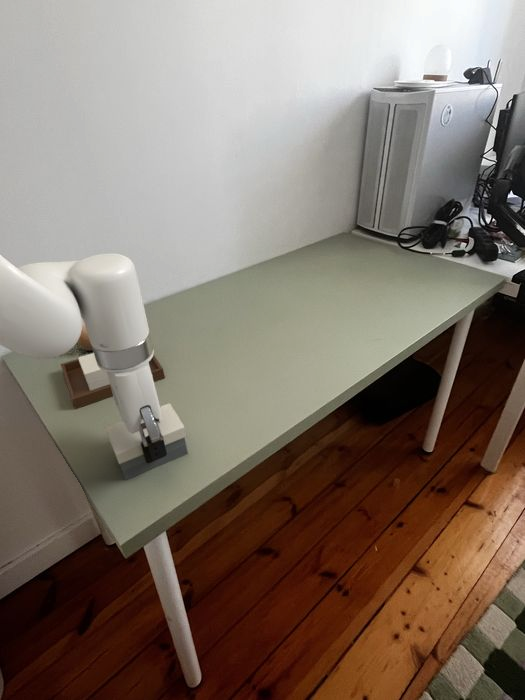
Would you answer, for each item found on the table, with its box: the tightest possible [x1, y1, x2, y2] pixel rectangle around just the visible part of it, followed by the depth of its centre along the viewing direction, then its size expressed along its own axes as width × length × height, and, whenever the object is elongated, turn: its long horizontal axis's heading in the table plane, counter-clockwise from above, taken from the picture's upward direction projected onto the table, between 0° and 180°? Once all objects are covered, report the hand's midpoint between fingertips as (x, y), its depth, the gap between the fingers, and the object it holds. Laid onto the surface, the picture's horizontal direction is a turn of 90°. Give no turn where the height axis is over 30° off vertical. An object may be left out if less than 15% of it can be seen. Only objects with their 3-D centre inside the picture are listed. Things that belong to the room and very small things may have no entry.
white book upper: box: [77, 352, 108, 383], centre depth 85 cm, size 10×7×2 cm, turn 120°
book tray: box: [60, 354, 166, 410], centre depth 87 cm, size 17×13×2 cm
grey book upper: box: [119, 437, 187, 472], centre depth 67 cm, size 10×6×2 cm, turn 120°
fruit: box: [76, 319, 93, 351], centre depth 95 cm, size 8×7×8 cm
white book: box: [104, 403, 187, 465], centre depth 66 cm, size 10×7×2 cm, turn 120°
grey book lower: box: [119, 444, 188, 481], centre depth 69 cm, size 10×6×2 cm, turn 120°
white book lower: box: [83, 373, 110, 391], centre depth 87 cm, size 10×7×2 cm, turn 120°
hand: (148, 442), depth 68 cm, fingers open, 6 cm apart
